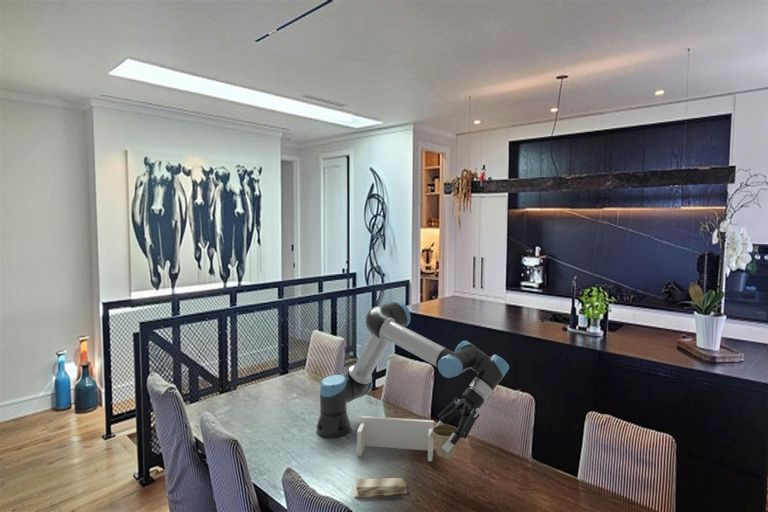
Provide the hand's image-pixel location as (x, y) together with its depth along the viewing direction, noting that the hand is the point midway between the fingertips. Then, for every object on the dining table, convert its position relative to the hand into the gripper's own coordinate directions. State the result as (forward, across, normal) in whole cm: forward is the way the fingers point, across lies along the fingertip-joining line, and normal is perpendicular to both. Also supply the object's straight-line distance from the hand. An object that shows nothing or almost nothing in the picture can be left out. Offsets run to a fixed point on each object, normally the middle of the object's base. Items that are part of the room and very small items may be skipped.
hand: (437, 443), depth 157 cm
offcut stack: (+25, +4, +4) cm, 26 cm away
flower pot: (+1, 0, -5) cm, 5 cm away
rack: (+14, +26, -7) cm, 30 cm away
